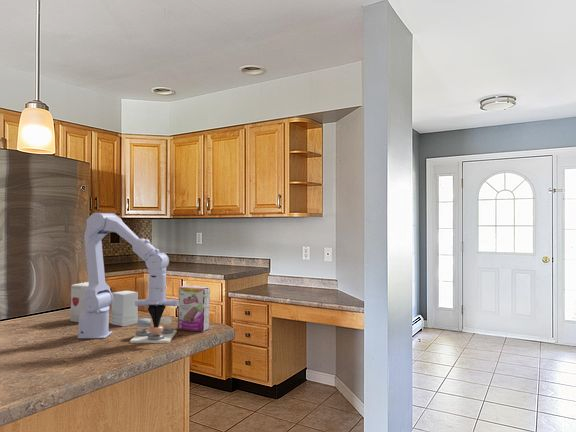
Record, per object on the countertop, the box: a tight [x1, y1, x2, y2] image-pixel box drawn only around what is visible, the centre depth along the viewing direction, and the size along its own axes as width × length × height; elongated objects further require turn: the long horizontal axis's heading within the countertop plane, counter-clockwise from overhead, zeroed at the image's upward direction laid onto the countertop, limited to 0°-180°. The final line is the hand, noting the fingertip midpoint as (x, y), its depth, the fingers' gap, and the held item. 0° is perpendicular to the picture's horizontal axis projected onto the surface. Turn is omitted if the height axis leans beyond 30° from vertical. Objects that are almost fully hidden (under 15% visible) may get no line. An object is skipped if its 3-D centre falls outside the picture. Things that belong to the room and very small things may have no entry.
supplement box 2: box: [110, 290, 139, 327], centre depth 171 cm, size 7×7×13 cm
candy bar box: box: [177, 284, 211, 332], centre depth 164 cm, size 11×5×16 cm, turn 74°
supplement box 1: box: [69, 281, 89, 323], centre depth 176 cm, size 9×9×15 cm
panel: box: [129, 326, 178, 344], centre depth 152 cm, size 13×14×3 cm
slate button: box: [136, 317, 152, 328], centre depth 153 cm, size 5×5×2 cm
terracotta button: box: [148, 324, 164, 334], centre depth 148 cm, size 5×5×2 cm
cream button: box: [159, 316, 173, 326], centre depth 157 cm, size 5×5×2 cm
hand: (156, 326), depth 148 cm, fingers closed, pressing on terracotta button
